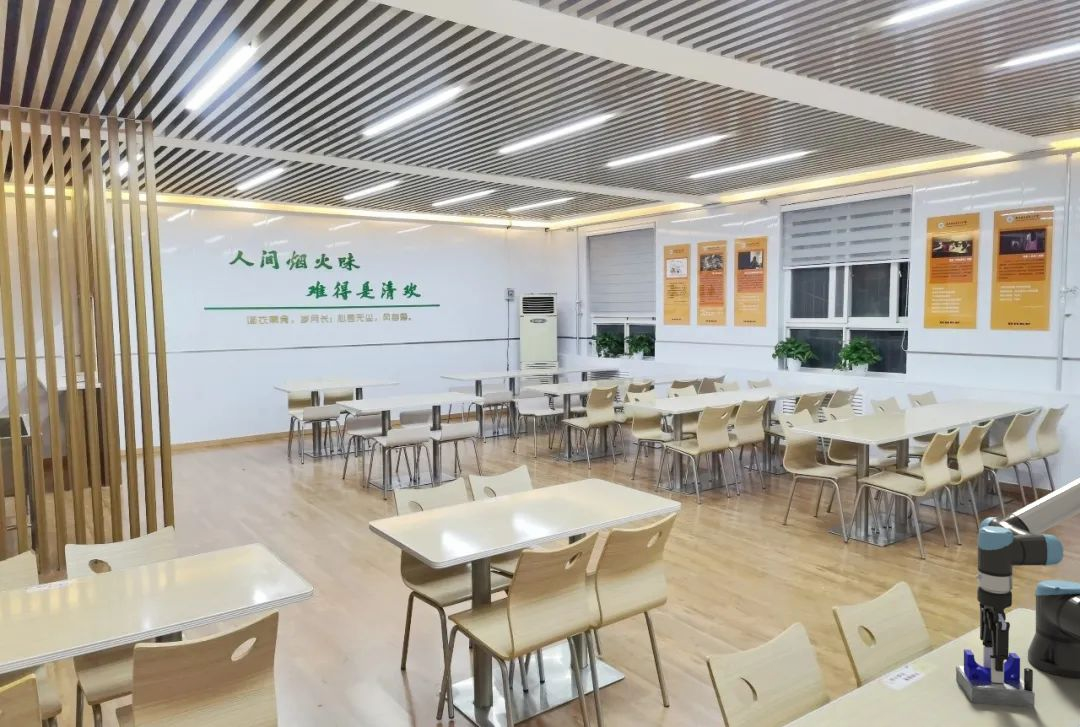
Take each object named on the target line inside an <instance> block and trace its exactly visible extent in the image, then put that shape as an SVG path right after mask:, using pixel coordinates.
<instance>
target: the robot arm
mask: <svg viewBox="0 0 1080 727" xmlns="http://www.w3.org/2000/svg"><path fill="white" fill-rule="evenodd" d="M1078 514H1080V477H1077V478H1076V479H1074V480H1072V481H1070V482H1069V483H1067V484H1065V485H1063V486H1061V487H1059V488H1057V489H1056V490H1054V491H1051V492H1050V493H1048V494H1046V495H1044V496H1042V497H1041V498H1039V499H1036V500H1035V501H1033V502H1031V503H1029V504H1027V505H1026V506H1024V507H1021V508H1019V509H1018V510H1016V511H1014V512H1012V513H1009V514H1007V515H1006V516H1004V517H1002V518H1000V517H995V516H994V517H993V516H990V517H986V518H985V519H983V520H982V521H981V523H980V525H979V529H978V534H977V535H978V536H977V543H976V545H977V574H975V578H976V579H977V590H976V591H977V592H976V594H977V596H976V597H977V598H976V599H977V601H978V602H979V610H980V611H979V617H980V618H979V620H980V621H979V631H980V632H979V639H980V640H981V641H982V645H983V658H982V659H983V660H982V662H983V664H982V666H983V667H986V668H991V682H995V683H1004V663H1005V660H1006V661H1007V660H1008V657H1009V644H1010V642H1009V640H1010V638H1009V637H1010V628H1011V623H1010V622H1009V621H1006V620H1007V619H1006V612H1005V609H1006V608H1007V609H1008V608H1010V607H1011V606H1012V604H1013V593H1012V590H1013V579H1014V578H1013V569H1014V568H1013V566H1017V567H1018V566H1019V567H1020V566H1022V567H1023V566H1028V567H1029V566H1043V567H1047V566H1051V565H1058V564H1060V563H1061V562H1062V560H1063V558H1064V547H1063V544H1062V543H1061V540H1060V539H1059V538H1058V537H1056V536H1055V535H1053V534H1045V533H1043V532H1045V531H1046V530H1049V529H1051V528H1053V527H1055V526H1056V525H1058V524H1060V523H1063V522H1064V521H1067V520H1068V519H1070V518H1072V517H1073V516H1076V515H1078ZM1035 588H1036V589H1035V594H1034V596H1035V633H1034V635H1033V637H1032V640H1031V641H1030V644H1029V647H1028V648H1027V661H1028V662H1029V663H1030V664H1031V665H1032V666H1033V667H1035V668H1037V669H1038V670H1041V671H1043V672H1046V673H1049V674H1052V675H1054V676H1055V675H1056V676H1059V677H1066V678H1071V679H1072V678H1074V679H1080V583H1079V582H1076V581H1075V582H1074V581H1069V580H1059V579H1058V580H1055V579H1053V580H1052V579H1051V580H1043V581H1039V582H1038V583H1037V584H1036V587H1035Z"/></svg>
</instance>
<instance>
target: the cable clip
mask: <svg viewBox="0 0 1080 727" xmlns="http://www.w3.org/2000/svg"><path fill="white" fill-rule="evenodd" d="M963 666H964V673H965V674H966V676H967V677H968V679H969V680H977V681H989V682H991V668H986V667H983V665H981V664H979V663H978V662H977V661H976V659H975V654H974V652H972V649H966V648H965V649H963ZM1020 677H1021V657H1020V656H1019V655H1018V654H1017V653H1016V652H1008V660H1006V661H1004V680H1010V681H1020Z"/></svg>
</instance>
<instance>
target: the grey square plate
mask: <svg viewBox="0 0 1080 727" xmlns="http://www.w3.org/2000/svg"><path fill="white" fill-rule="evenodd" d="M955 680H956V681H957V683H958V684H959V686H960V687H961V688H962V690H963V691H964V693H965V694H966V696H967V698H968V699H969V700H970V702H971V703H974V704H983V705H984V704H987V705H998V706H1013V707H1021V708H1022V707H1025V708H1035V704H1036V703H1035V702H1036V699H1035V696H1036V695H1035V692H1034V691H1033V689H1034V688H1033V687H1034V681H1033V680H1034V671H1033V669H1032V668H1028V667H1027V668H1026V667H1025V668H1024V669H1023V677H1022V676H1020V681H1010V680H1004V683H995V682H989V681H977V680H969V679H968V677H967V676H966V674H965V673H964V665H956V666H955Z"/></svg>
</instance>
